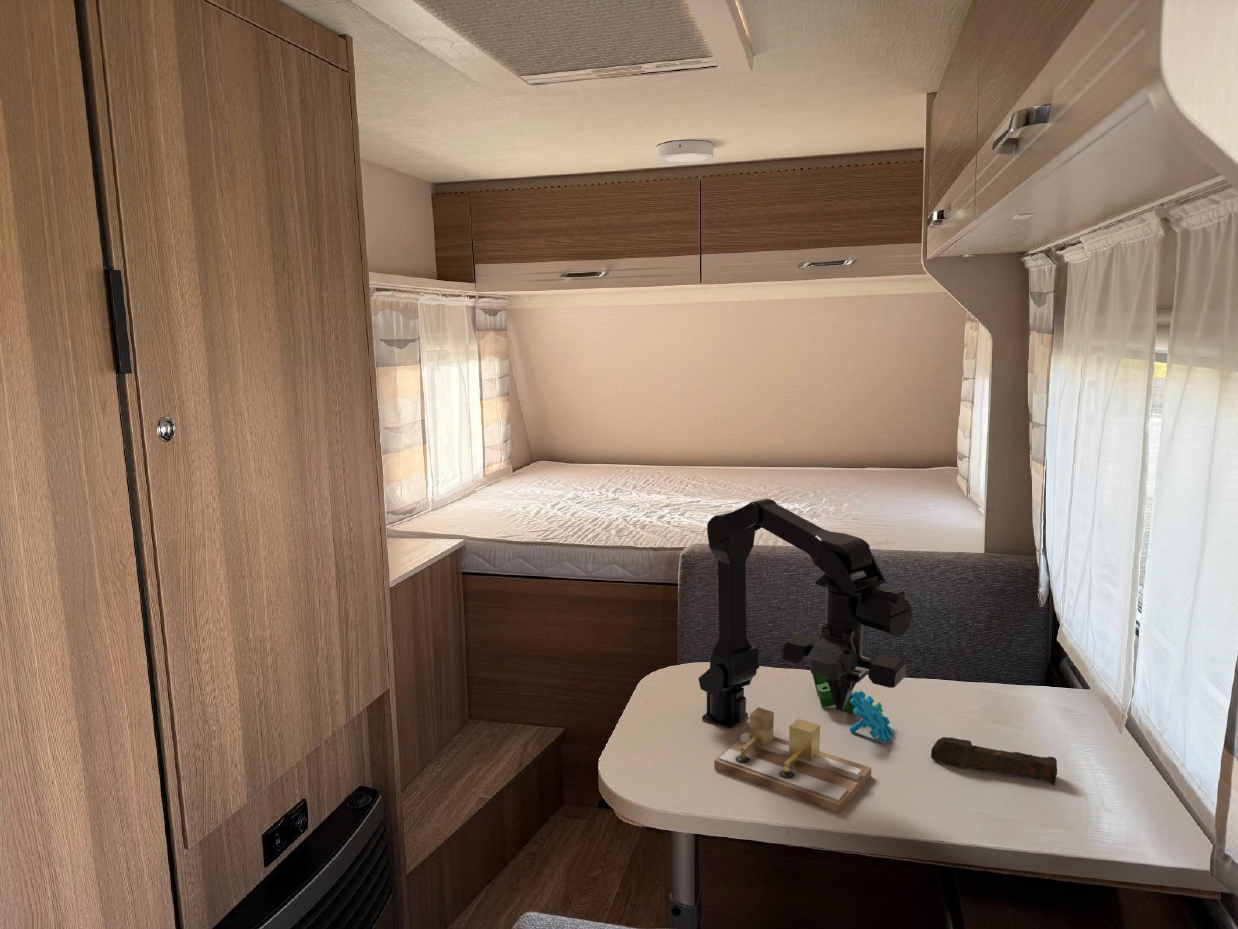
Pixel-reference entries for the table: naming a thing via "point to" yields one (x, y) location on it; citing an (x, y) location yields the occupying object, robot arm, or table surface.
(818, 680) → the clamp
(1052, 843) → the table surface
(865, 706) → the gear
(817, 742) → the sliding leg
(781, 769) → the wooden base with blocks
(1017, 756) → the hand tool
